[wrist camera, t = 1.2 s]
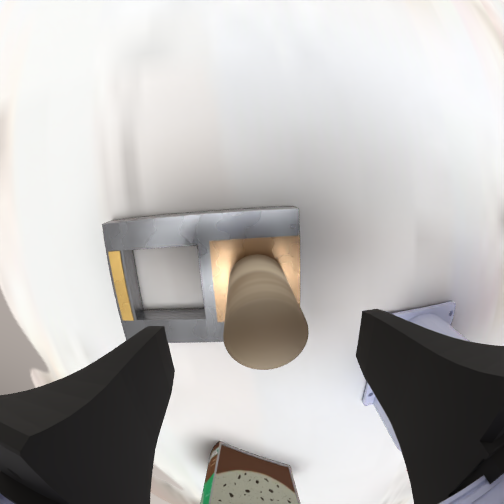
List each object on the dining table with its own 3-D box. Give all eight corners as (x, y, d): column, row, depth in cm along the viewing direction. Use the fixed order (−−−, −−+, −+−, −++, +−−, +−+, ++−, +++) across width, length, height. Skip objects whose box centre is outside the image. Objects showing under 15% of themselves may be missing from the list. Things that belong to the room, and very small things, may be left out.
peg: (284, 304, 16) (306, 365, 10) (231, 308, 16) (227, 371, 10) (284, 252, 15) (309, 294, 10) (226, 255, 15) (219, 301, 10)
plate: (294, 324, 18) (299, 336, 17) (133, 330, 18) (126, 342, 17) (293, 206, 16) (299, 208, 15) (112, 220, 16) (101, 224, 15)
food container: (176, 456, 22) (163, 531, 13) (206, 435, 21) (198, 524, 12) (264, 486, 25) (270, 549, 15) (299, 468, 24) (313, 537, 14)
